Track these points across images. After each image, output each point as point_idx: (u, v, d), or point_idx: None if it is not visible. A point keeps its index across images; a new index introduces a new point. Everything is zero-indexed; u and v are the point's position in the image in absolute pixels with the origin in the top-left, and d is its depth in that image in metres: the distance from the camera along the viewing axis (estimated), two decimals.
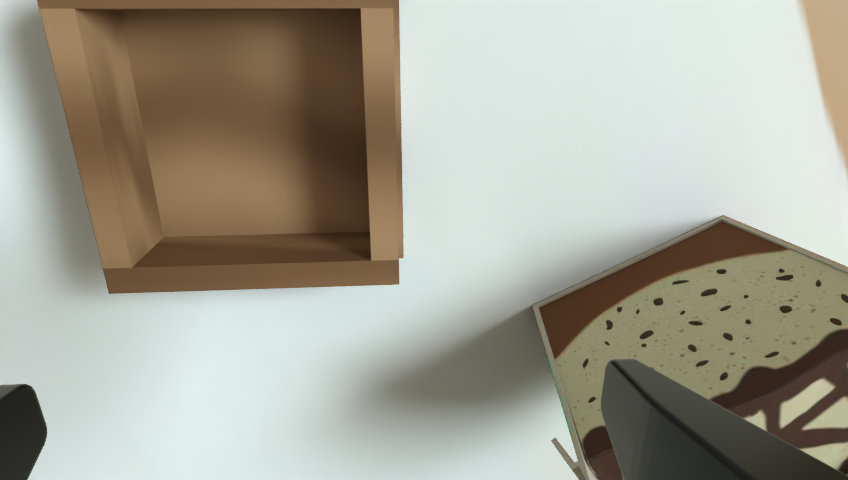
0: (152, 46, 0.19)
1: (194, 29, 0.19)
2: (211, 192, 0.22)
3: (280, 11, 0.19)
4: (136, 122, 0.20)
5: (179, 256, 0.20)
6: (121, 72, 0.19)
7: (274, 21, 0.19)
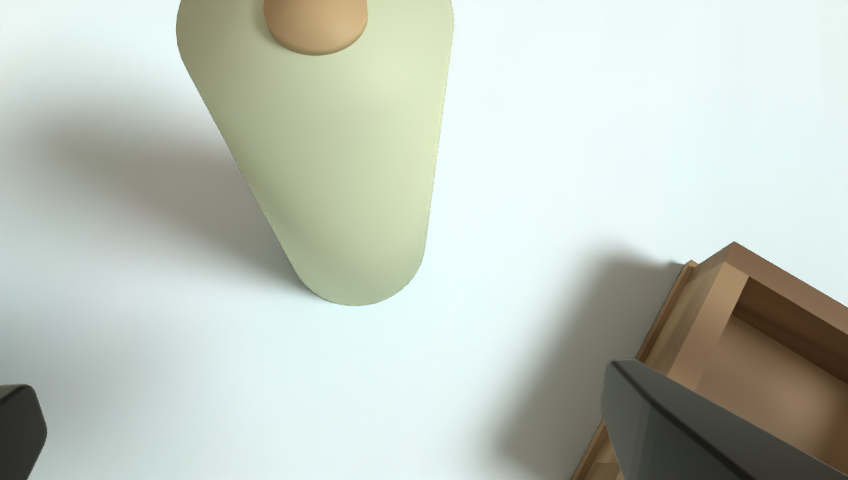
0: None
1: (755, 343, 0.22)
2: None
3: (831, 375, 0.22)
4: None
5: None
6: None
7: (823, 378, 0.22)
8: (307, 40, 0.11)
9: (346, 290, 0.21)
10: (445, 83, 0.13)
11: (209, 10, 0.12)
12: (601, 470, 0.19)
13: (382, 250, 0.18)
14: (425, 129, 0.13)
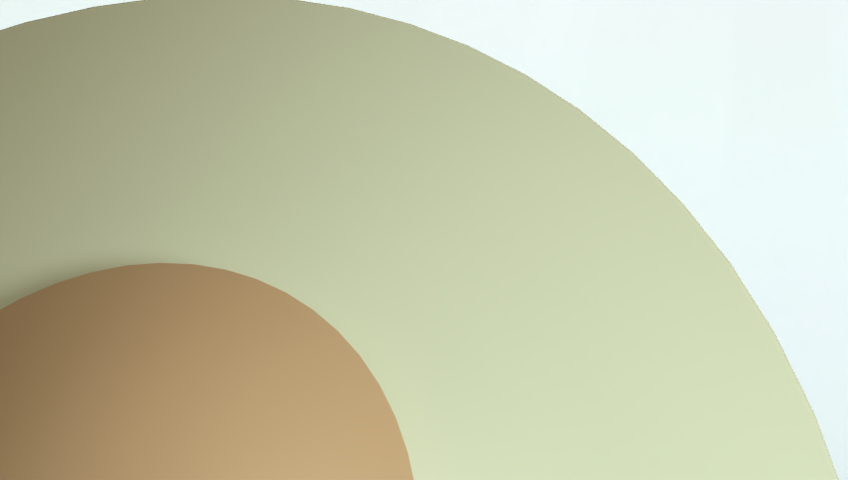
0: None
1: None
2: None
3: None
4: None
5: None
6: None
7: None
8: None
9: None
10: None
11: None
12: None
13: None
14: None
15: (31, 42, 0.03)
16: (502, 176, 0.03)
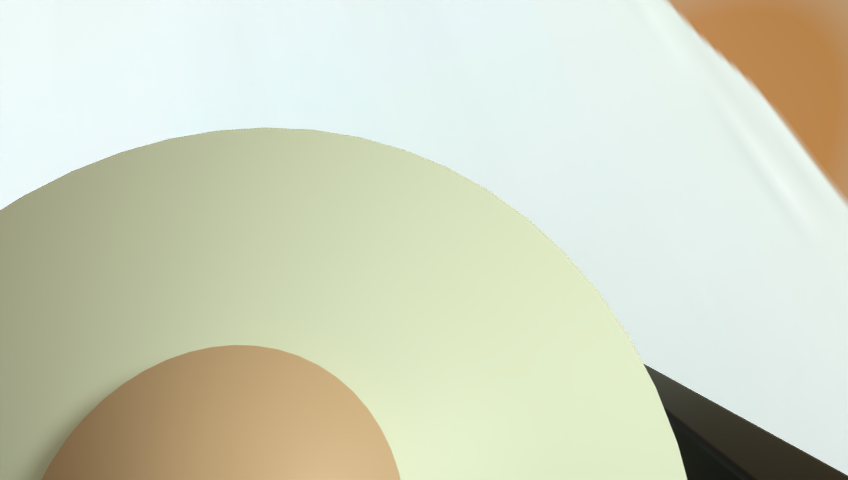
0: None
1: None
2: None
3: None
4: None
5: None
6: None
7: None
8: None
9: None
10: None
11: None
12: None
13: None
14: None
15: (126, 167, 0.04)
16: (468, 271, 0.04)
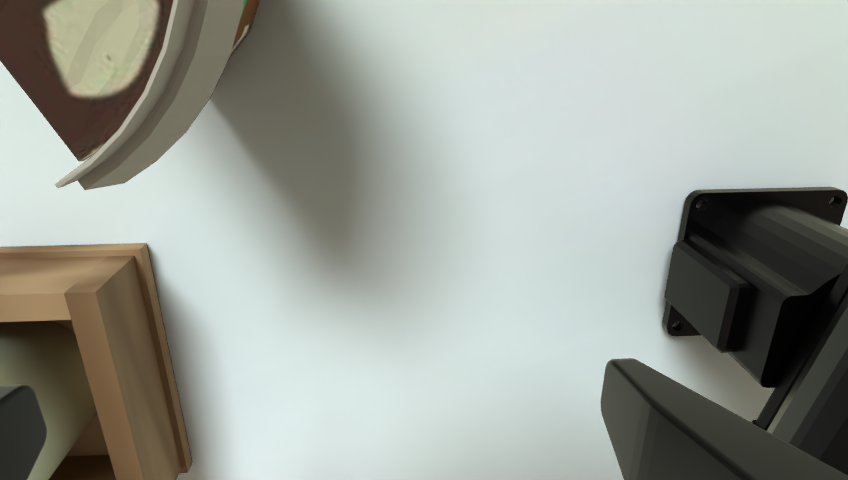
0: None
1: None
2: None
3: None
4: None
5: None
6: None
7: None
8: None
9: (75, 406, 0.20)
10: None
11: None
12: None
13: None
14: None
15: None
16: None
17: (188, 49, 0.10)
